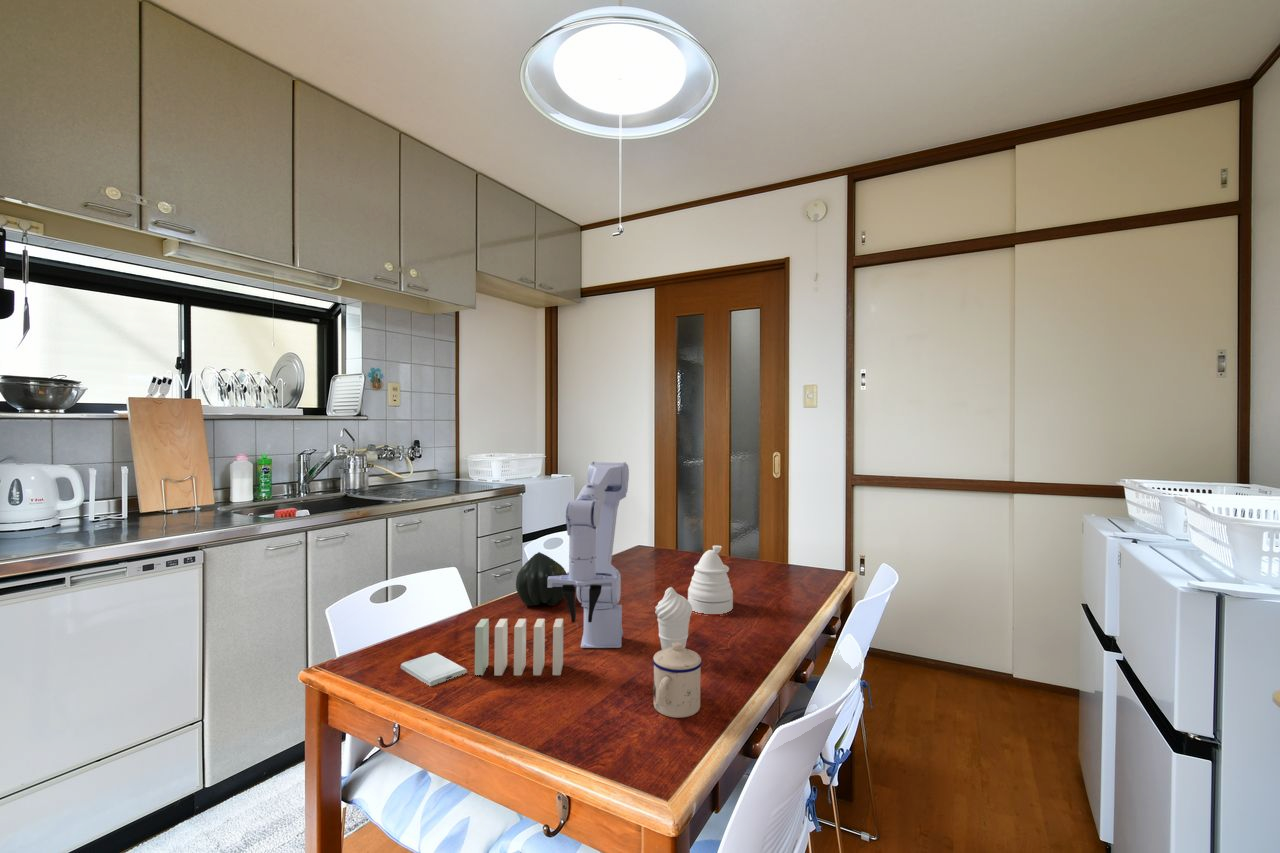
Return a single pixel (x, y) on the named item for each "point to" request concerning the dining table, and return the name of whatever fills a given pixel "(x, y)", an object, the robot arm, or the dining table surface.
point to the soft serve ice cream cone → (673, 618)
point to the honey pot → (711, 585)
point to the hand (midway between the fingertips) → (581, 620)
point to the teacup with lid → (677, 681)
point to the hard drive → (433, 669)
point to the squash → (539, 581)
